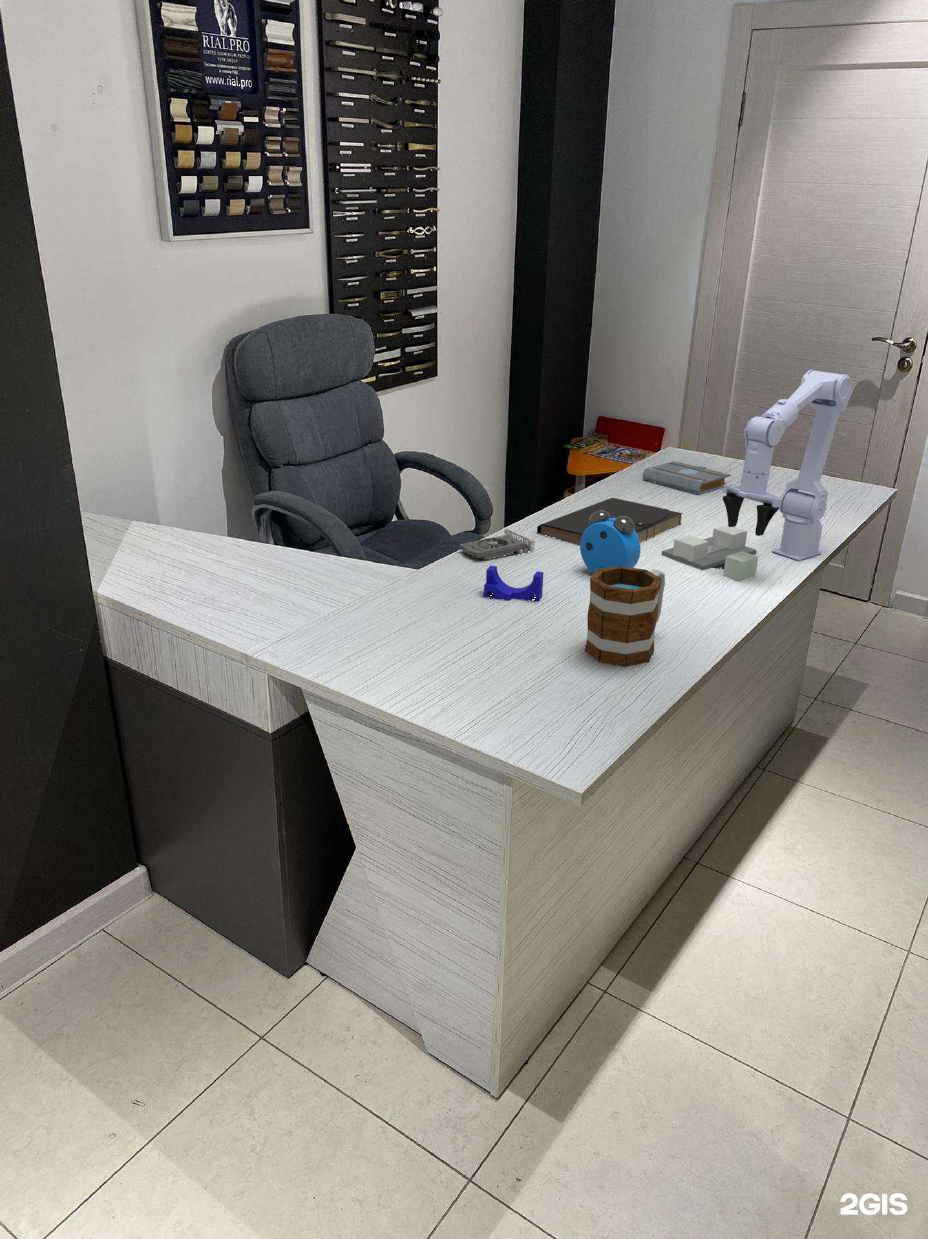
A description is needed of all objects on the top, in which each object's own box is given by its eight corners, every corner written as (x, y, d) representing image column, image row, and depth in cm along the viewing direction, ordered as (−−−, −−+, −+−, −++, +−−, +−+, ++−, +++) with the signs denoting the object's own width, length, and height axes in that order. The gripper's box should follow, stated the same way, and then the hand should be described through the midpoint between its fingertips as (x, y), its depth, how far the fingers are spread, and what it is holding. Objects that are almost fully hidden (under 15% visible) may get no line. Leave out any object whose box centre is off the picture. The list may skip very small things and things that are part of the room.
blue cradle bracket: (483, 598, 208) (484, 572, 206) (489, 590, 212) (490, 565, 209) (537, 605, 205) (538, 579, 202) (542, 597, 209) (543, 572, 206)
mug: (628, 673, 175) (635, 598, 169) (570, 650, 184) (574, 578, 178) (685, 641, 188) (694, 570, 182) (628, 622, 197) (635, 553, 191)
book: (642, 482, 297) (643, 466, 295) (674, 473, 307) (676, 458, 305) (697, 497, 283) (699, 480, 281) (730, 487, 293) (732, 471, 291)
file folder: (616, 541, 232) (537, 521, 247) (615, 557, 234) (536, 536, 249) (683, 512, 255) (607, 495, 270) (682, 526, 257) (606, 509, 271)
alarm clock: (638, 579, 219) (644, 516, 213) (623, 586, 215) (629, 522, 209) (592, 565, 227) (596, 504, 221) (576, 571, 223) (580, 510, 217)
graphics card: (507, 527, 243) (535, 539, 234) (507, 541, 245) (535, 554, 235) (451, 538, 235) (477, 551, 226) (451, 553, 237) (477, 566, 227)
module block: (739, 571, 225) (742, 551, 223) (755, 576, 222) (758, 556, 220) (723, 576, 222) (725, 556, 220) (738, 582, 218) (741, 561, 216)
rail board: (714, 539, 246) (715, 534, 245) (756, 553, 236) (756, 548, 235) (661, 554, 234) (662, 549, 234) (702, 570, 225) (703, 564, 224)
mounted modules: (725, 539, 243) (727, 524, 241) (745, 546, 238) (747, 530, 237) (672, 554, 231) (674, 539, 230) (691, 561, 227) (693, 546, 226)
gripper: (718, 466, 215) (709, 524, 220) (772, 480, 205) (761, 541, 210) (738, 464, 220) (728, 521, 224) (791, 477, 209) (780, 537, 214)
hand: (745, 530), depth 217 cm, fingers open, 7 cm apart
